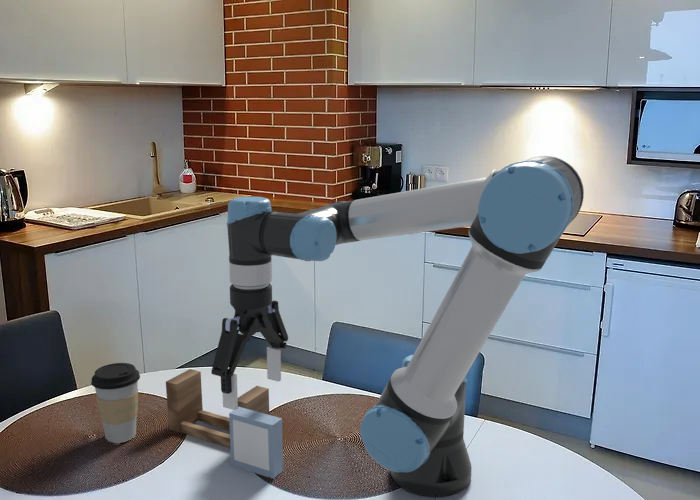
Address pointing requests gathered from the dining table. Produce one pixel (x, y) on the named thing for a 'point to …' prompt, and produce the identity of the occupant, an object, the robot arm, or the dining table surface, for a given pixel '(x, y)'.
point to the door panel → (256, 442)
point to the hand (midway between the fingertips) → (253, 393)
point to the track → (189, 410)
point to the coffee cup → (117, 400)
